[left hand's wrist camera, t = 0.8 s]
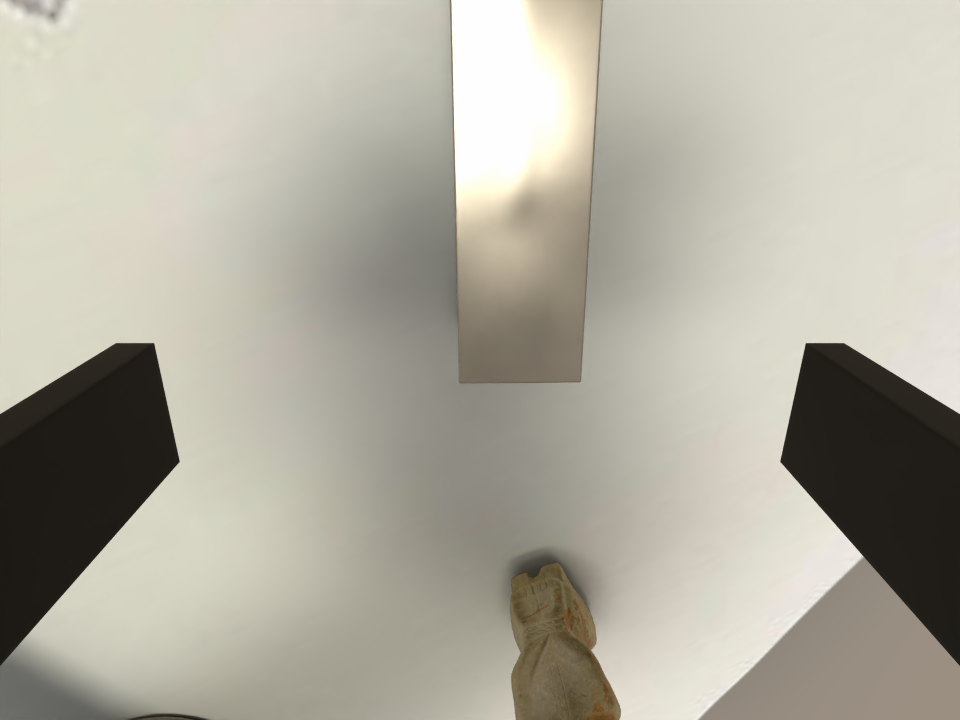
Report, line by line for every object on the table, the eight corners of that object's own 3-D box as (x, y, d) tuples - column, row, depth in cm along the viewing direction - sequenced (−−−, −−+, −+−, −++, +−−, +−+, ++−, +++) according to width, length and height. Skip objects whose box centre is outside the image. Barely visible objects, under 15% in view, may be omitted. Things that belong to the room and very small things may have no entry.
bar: (558, 325, 34) (581, 382, 27) (463, 326, 34) (458, 383, 27) (579, -195, 26) (622, -328, 18) (452, -194, 26) (442, -326, 18)
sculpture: (525, 642, 43) (548, 892, 29) (491, 567, 40) (498, 800, 26) (603, 620, 42) (665, 866, 28) (573, 542, 40) (626, 769, 26)
